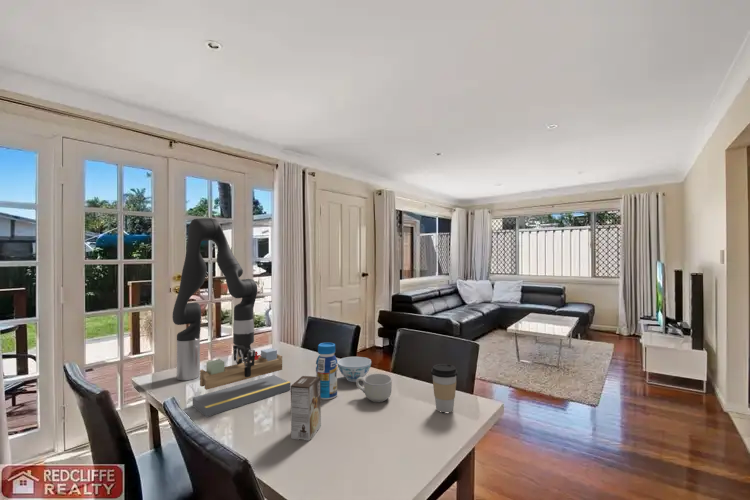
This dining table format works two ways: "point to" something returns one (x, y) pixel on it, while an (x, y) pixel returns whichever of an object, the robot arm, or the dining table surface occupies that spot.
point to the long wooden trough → (239, 372)
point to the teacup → (376, 386)
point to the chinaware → (354, 367)
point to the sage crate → (215, 366)
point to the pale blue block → (269, 354)
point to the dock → (239, 395)
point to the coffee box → (305, 407)
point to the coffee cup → (444, 386)
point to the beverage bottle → (327, 370)
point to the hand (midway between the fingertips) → (243, 374)
